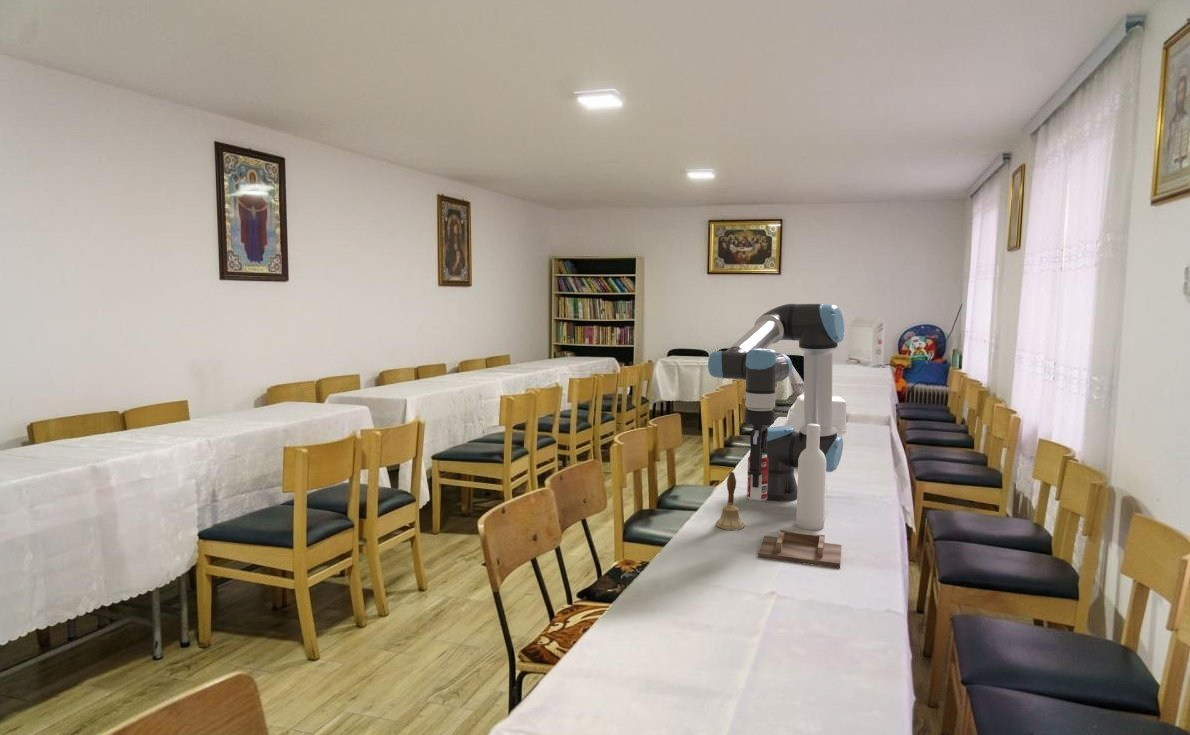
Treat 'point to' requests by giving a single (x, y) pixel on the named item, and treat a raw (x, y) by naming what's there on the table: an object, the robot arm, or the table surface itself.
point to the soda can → (764, 478)
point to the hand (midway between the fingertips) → (757, 495)
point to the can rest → (801, 549)
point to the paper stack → (837, 415)
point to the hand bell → (730, 508)
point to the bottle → (811, 482)
